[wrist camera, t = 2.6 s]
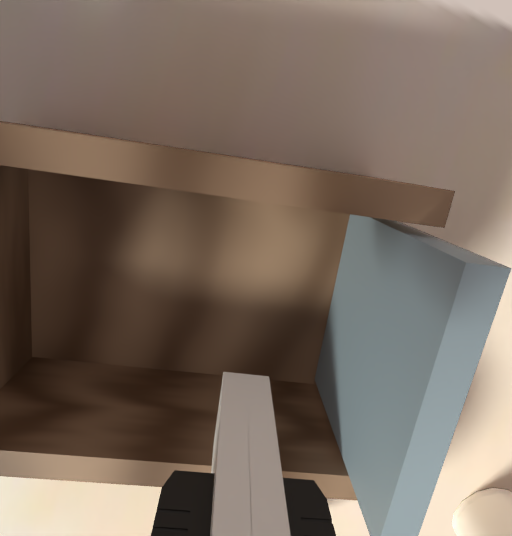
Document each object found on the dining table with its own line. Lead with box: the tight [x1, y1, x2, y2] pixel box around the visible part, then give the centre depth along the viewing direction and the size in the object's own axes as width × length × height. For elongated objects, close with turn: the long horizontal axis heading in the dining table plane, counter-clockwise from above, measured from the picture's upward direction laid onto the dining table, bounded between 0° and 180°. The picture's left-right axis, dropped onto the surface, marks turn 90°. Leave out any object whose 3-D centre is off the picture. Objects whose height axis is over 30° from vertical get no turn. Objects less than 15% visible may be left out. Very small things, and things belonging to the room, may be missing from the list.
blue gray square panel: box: [315, 214, 511, 536], centre depth 19 cm, size 2×12×12 cm, turn 172°
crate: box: [0, 121, 455, 500], centre depth 21 cm, size 22×16×10 cm
